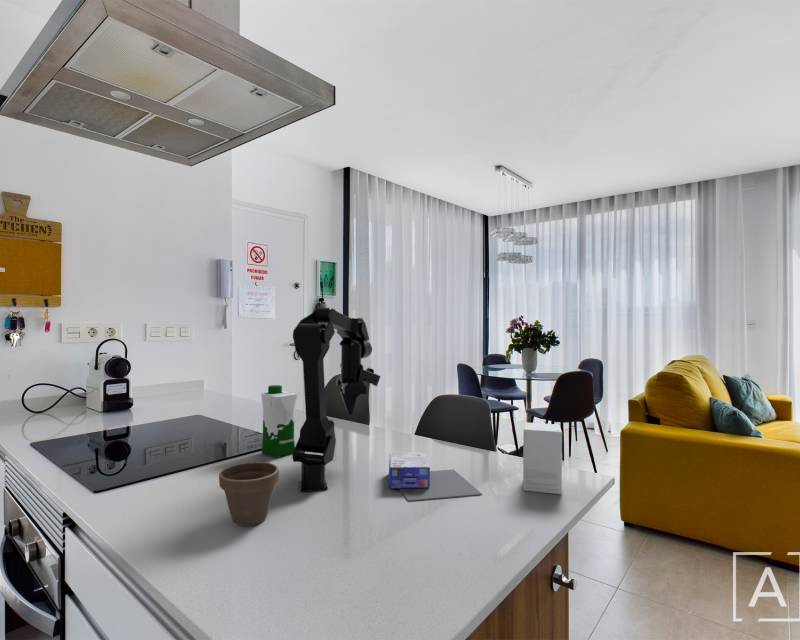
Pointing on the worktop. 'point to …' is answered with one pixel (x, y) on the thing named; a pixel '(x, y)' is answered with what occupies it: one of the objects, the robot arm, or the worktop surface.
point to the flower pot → (249, 490)
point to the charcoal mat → (441, 487)
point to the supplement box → (542, 458)
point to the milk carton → (278, 422)
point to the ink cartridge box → (409, 470)
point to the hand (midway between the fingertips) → (350, 414)
